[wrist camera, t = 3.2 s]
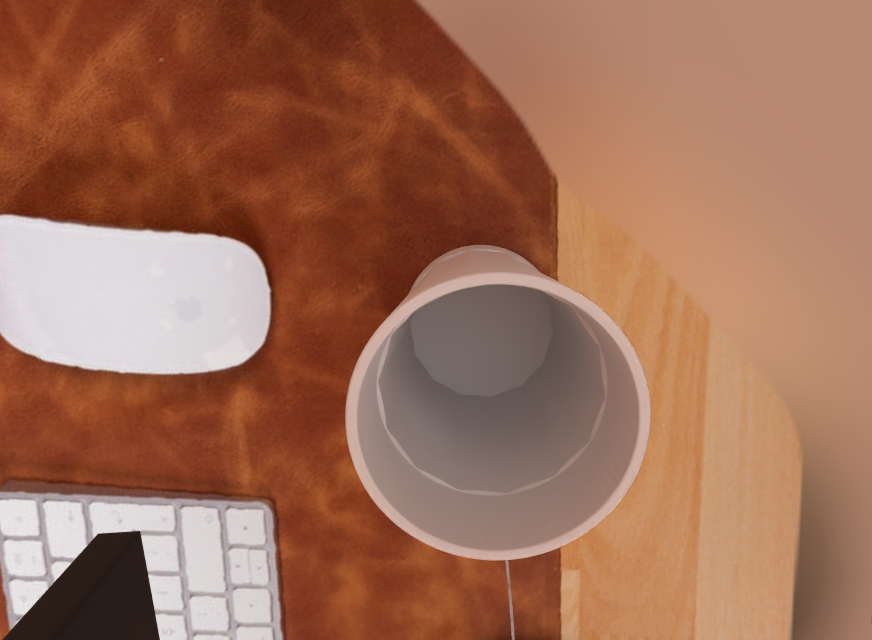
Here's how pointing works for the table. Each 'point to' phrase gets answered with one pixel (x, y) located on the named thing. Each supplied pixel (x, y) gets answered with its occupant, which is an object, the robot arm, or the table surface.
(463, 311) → the cup
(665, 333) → the table surface
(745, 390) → the table surface
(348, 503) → the table surface
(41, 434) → the table surface
